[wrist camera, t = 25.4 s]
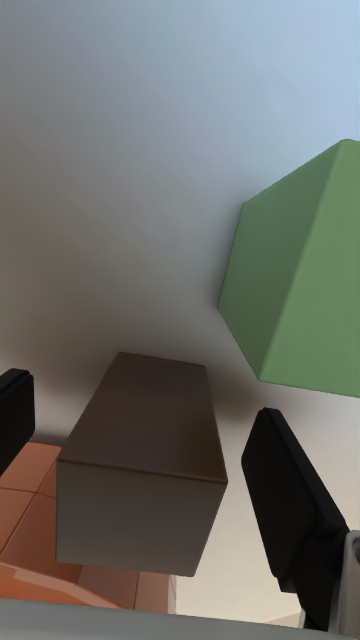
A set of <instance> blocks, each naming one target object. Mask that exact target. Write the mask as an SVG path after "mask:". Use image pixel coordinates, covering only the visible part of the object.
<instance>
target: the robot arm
mask: <svg viewBox="0 0 360 640" xmlns="http://www.w3.org/2000/svg"><path fill="white" fill-rule="evenodd" d="M34 430H35V405H34V378H33V375H30V372H29V371H28V370H22V369H16V368H11V369H9V370H8V371H6V372H5V373H4V374H2V375H1V376H0V477H1V476H2V475H3V473H4V472H5V471H6V469H7V468H8V467H9V465H10V464H11V463H12V461H13V460H14V459H15V458H16V456H17V455H18V454H19V452H20V451H21V450H22V448H23V447H24V446H25V445H26V443H27V442H28V441H29V439H30V438H31V437H32V435H33V433H34ZM241 465H242V469H243V472H244V476H245V480H246V483H247V487H248V490H249V494H250V498H251V501H252V505H253V509H254V512H255V516H256V519H257V523H258V527H259V530H260V534H261V537H262V541H263V545H264V548H265V552H266V556H267V559H268V563H269V566H270V570H271V572H272V574H273V576H274V577H276V578H277V580H278V583H279V586H280V590H281V592H287V593H297V596H298V599H299V602H300V605H301V608H302V609H301V614H300V619H299V625H298V628H294V627H287V626H279V625H271V624H263V623H254V622H245V621H235V620H225V619H215V618H206V617H196V616H186V615H176V614H167V613H156V612H146V611H136V610H125V609H115V608H105V607H94V606H84V605H73V604H63V603H52V602H42V601H30V600H19V599H8V598H0V640H360V531H359V530H352V531H350V530H349V528H348V526H347V525H346V523H345V522H346V521H345V519H344V517H343V516H342V514H341V512H340V511H339V509H338V507H337V506H336V504H335V502H334V501H333V499H332V497H331V496H330V494H329V492H328V491H327V489H326V487H325V486H324V484H323V482H322V480H321V479H320V477H319V475H318V474H317V472H316V470H315V469H314V467H313V465H312V464H311V462H310V460H309V459H308V457H307V455H306V454H305V452H304V450H303V449H302V447H301V445H300V444H299V442H298V440H297V439H296V437H295V435H294V433H293V432H292V430H291V428H290V427H289V425H288V423H287V422H286V420H285V418H284V417H283V415H282V413H281V412H280V411H279V410H278V409H273V408H266V407H265V408H263V409H262V410H259V412H258V414H257V416H256V419H255V422H254V424H253V427H252V430H251V433H250V435H249V438H248V441H247V443H246V446H245V449H244V451H243V454H242V457H241Z"/></svg>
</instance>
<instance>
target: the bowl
mask: <svg viewBox="0 0 360 640" xmlns="http://www.w3.org/2000/svg"><path fill="white" fill-rule="evenodd" d="M61 449H62V447H59V446H54V445H48V444H43V443H33V442H27V443H26V445H25V446H24V447H23V448H22V450H21V451H20V452H19V454H18V455H17V456H16V458H15V459H14V460H13V461H12V463H11V464H10V465H9V467H8V468H7V469H6V471H5V472H4V473H3V475H2V476H1V477H0V598H8V599H19V600H30V601H42V602H52V603H63V604H73V605H84V606H94V607H105V608H115V609H125V610H136V611H146V612H156V613H167V614H176V575H169V574H160V573H151V572H143V571H134V570H125V569H116V568H108V567H99V566H90V565H81V564H72V563H64V562H57V561H56V560H55V548H56V459H57V456H58V454H59V452H60V451H61Z"/></svg>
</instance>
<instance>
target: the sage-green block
mask: <svg viewBox="0 0 360 640" xmlns="http://www.w3.org/2000/svg"><path fill="white" fill-rule="evenodd" d="M217 308H218V310H219V312H220V314H221V316H222V317H223V319H224V321H225V323H226V324H227V326H228V328H229V330H230V331H231V333H232V335H233V337H234V338H235V340H236V342H237V344H238V345H239V347H240V349H241V351H242V352H243V354H244V356H245V358H246V360H247V361H248V363H249V365H250V367H251V368H252V370H253V372H254V374H255V375H256V377H257V379H258V380H259V381H261V382H266V383H272V384H278V385H284V386H291V387H297V388H303V389H309V390H315V391H321V392H327V393H333V394H339V395H345V396H351V397H357V398H360V142H359V141H355V140H351V139H344V140H341V141H339V142H338V143H336V144H334V145H333V146H331V147H330V148H328V149H327V150H325V151H324V152H322V153H321V154H319V155H318V156H316V157H315V158H313V159H311V160H310V161H308V162H307V163H305V164H304V165H302V166H301V167H299V168H298V169H296V170H295V171H293V172H291V173H290V174H288V175H287V176H285V177H284V178H282V179H281V180H279V181H278V182H276V183H275V184H273V185H272V186H270V187H268V188H267V189H265V190H264V191H262V192H261V193H259V194H258V195H256V196H255V197H253V198H252V199H250V200H248V201H247V202H245V203H244V204H243V206H242V210H241V214H240V218H239V222H238V226H237V230H236V234H235V238H234V242H233V246H232V250H231V254H230V258H229V262H228V266H227V270H226V274H225V278H224V282H223V286H222V290H221V294H220V298H219V302H218V306H217Z"/></svg>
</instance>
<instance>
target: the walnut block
mask: <svg viewBox="0 0 360 640" xmlns="http://www.w3.org/2000/svg"><path fill="white" fill-rule="evenodd" d="M227 484H228V478H227V473H226V468H225V463H224V458H223V453H222V448H221V443H220V438H219V433H218V428H217V423H216V418H215V413H214V408H213V403H212V398H211V392H210V387H209V382H208V377H207V372H206V367H205V366H201V365H195V364H189V363H183V362H177V361H171V360H165V359H159V358H153V357H147V356H141V355H135V354H129V353H123V352H118V353H117V355H116V357H115V358H114V360H113V362H112V363H111V365H110V367H109V369H108V370H107V372H106V374H105V375H104V377H103V379H102V381H101V382H100V384H99V386H98V387H97V389H96V391H95V393H94V394H93V396H92V398H91V399H90V401H89V403H88V405H87V406H86V408H85V410H84V411H83V413H82V415H81V417H80V418H79V420H78V422H77V423H76V425H75V427H74V429H73V430H72V432H71V434H70V435H69V437H68V439H67V440H66V442H65V444H64V446H63V447H62V449H61V451H60V452H59V454H58V456H57V459H56V548H55V560H56V561H57V562H64V563H72V564H81V565H90V566H99V567H108V568H116V569H125V570H134V571H143V572H151V573H160V574H169V575H178V576H187V577H193V576H194V575H195V573H196V570H197V567H198V564H199V562H200V559H201V556H202V553H203V550H204V548H205V545H206V542H207V539H208V537H209V534H210V531H211V528H212V526H213V523H214V520H215V517H216V515H217V512H218V509H219V506H220V503H221V501H222V498H223V495H224V492H225V490H226V487H227Z"/></svg>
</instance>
